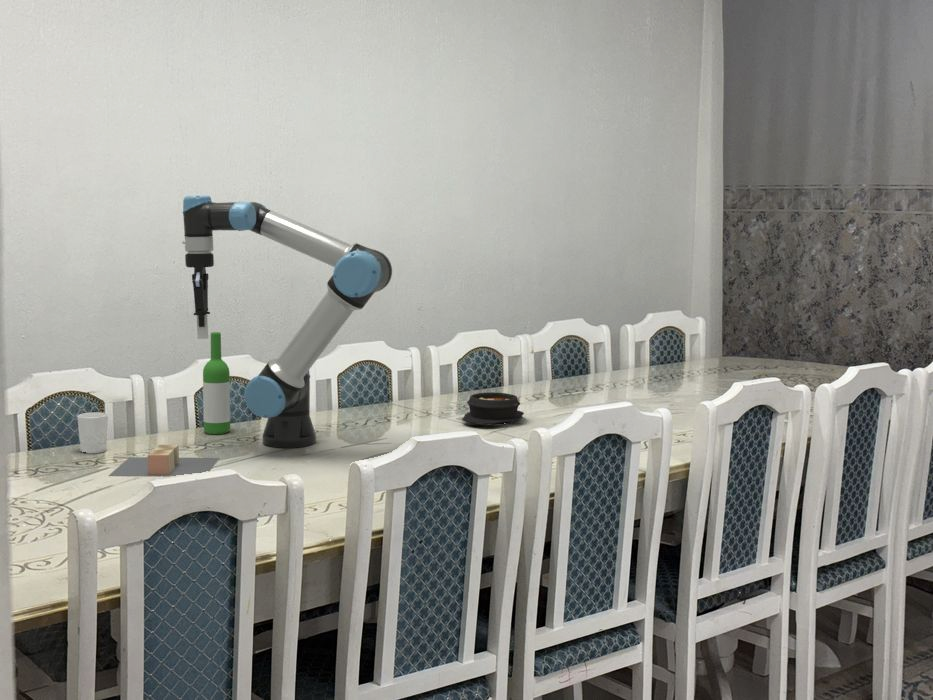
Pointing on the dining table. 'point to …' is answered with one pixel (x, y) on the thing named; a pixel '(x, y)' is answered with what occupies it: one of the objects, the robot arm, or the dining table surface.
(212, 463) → the mat
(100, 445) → the white cup
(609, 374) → the dining table surface
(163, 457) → the maple block
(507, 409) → the casserole
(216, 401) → the wine bottle
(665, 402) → the dining table surface
